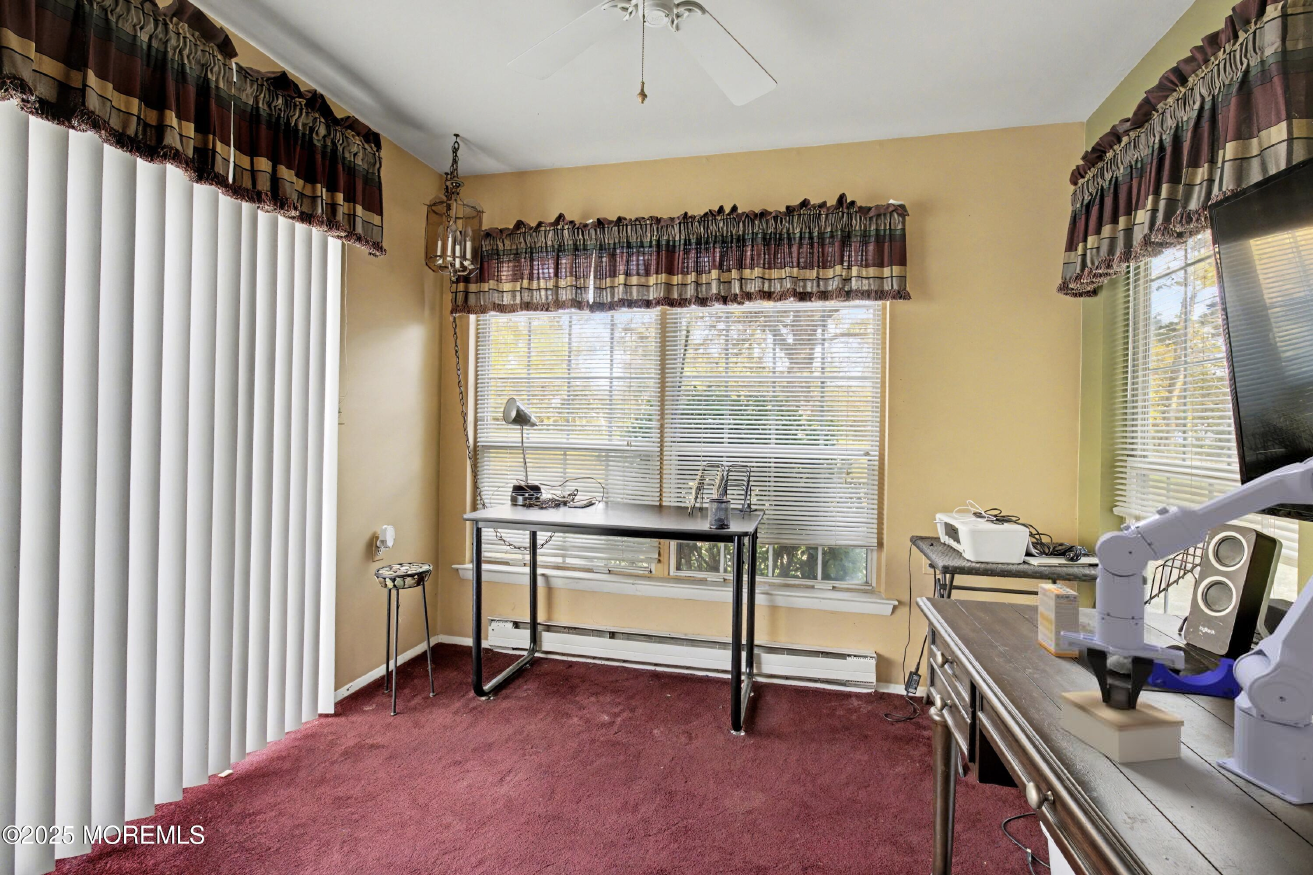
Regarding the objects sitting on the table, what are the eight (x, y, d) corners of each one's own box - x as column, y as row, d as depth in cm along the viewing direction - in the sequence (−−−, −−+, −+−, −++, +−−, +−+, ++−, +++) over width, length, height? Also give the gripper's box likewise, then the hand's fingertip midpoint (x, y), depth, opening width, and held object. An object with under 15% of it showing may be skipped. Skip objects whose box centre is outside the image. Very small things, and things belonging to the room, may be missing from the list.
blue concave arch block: (1228, 689, 108) (1229, 656, 108) (1239, 699, 104) (1239, 665, 104) (1144, 677, 113) (1144, 645, 113) (1151, 686, 109) (1151, 653, 109)
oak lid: (1183, 730, 85) (1184, 699, 85) (1119, 735, 84) (1119, 704, 84) (1118, 697, 96) (1118, 670, 96) (1059, 701, 94) (1059, 674, 94)
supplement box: (1080, 658, 122) (1081, 594, 122) (1054, 656, 123) (1054, 593, 123) (1061, 643, 130) (1062, 583, 130) (1037, 642, 131) (1037, 582, 131)
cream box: (1180, 757, 86) (1181, 726, 86) (1118, 763, 84) (1118, 731, 84) (1117, 722, 96) (1118, 694, 96) (1061, 727, 94) (1061, 699, 94)
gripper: (1059, 611, 91) (1058, 699, 91) (1186, 630, 82) (1185, 728, 82) (1062, 600, 96) (1061, 683, 97) (1182, 617, 88) (1181, 709, 88)
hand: (1118, 703), depth 90 cm, fingers closed on oak lid, 3 cm apart
